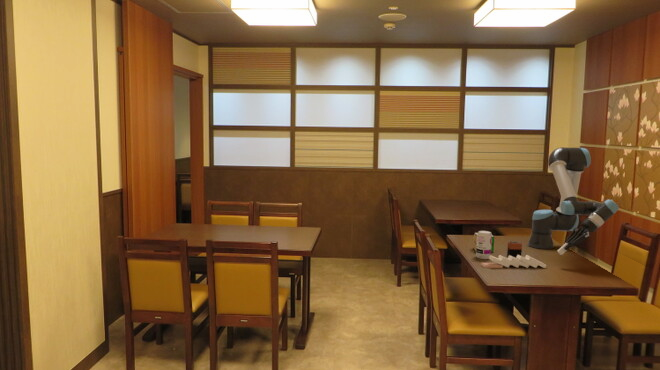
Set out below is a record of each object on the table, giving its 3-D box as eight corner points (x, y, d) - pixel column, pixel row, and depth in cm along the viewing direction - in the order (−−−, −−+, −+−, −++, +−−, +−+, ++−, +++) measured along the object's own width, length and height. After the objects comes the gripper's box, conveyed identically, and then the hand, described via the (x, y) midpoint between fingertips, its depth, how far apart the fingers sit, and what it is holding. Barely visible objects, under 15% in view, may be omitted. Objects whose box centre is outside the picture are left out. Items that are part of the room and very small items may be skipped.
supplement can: (490, 256, 280) (492, 231, 278) (490, 260, 272) (492, 234, 271) (476, 255, 283) (477, 230, 281) (475, 258, 275) (477, 232, 273)
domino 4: (525, 262, 263) (509, 255, 262) (529, 264, 258) (512, 257, 257) (523, 265, 263) (507, 258, 262) (527, 268, 258) (511, 260, 257)
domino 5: (533, 262, 263) (517, 254, 262) (537, 264, 258) (521, 256, 257) (531, 265, 263) (516, 257, 262) (536, 268, 258) (519, 259, 257)
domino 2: (505, 261, 262) (489, 254, 261) (510, 264, 257) (493, 257, 256) (504, 264, 262) (488, 258, 261) (508, 267, 257) (492, 260, 256)
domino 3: (515, 261, 263) (499, 254, 262) (519, 264, 258) (503, 257, 257) (513, 265, 263) (497, 258, 262) (517, 267, 258) (501, 260, 257)
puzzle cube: (489, 249, 299) (490, 233, 298) (493, 253, 289) (494, 236, 288) (473, 248, 300) (474, 232, 299) (476, 252, 290) (477, 236, 289)
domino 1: (499, 262, 262) (481, 262, 262) (503, 265, 257) (484, 265, 257) (499, 266, 262) (480, 266, 262) (502, 269, 257) (484, 268, 257)
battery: (506, 256, 281) (507, 240, 279) (518, 257, 280) (519, 240, 279) (509, 258, 276) (510, 241, 275) (521, 259, 276) (522, 242, 275)
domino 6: (542, 262, 263) (526, 254, 262) (546, 265, 258) (530, 256, 257) (540, 265, 263) (524, 257, 262) (544, 268, 258) (528, 260, 257)
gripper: (581, 216, 265) (549, 245, 267) (594, 220, 252) (560, 251, 254) (589, 225, 266) (557, 254, 267) (603, 230, 253) (569, 261, 254)
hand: (559, 252), depth 261 cm, fingers closed
